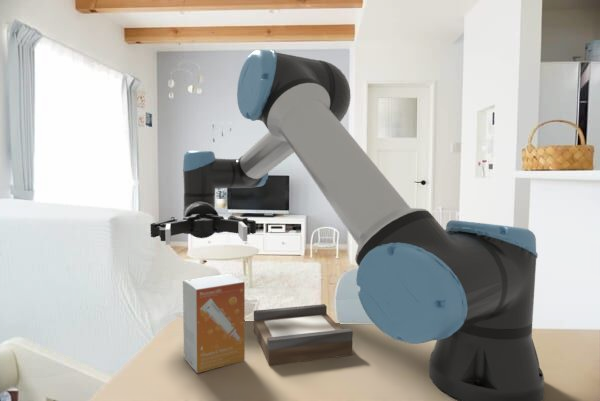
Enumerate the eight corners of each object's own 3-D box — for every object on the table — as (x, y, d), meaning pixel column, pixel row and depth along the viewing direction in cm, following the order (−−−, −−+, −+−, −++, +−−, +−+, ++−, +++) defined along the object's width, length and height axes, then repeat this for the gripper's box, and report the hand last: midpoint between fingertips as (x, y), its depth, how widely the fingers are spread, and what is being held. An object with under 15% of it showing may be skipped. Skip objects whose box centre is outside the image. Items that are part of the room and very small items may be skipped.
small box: (197, 375, 63) (195, 289, 62) (183, 358, 68) (181, 279, 67) (246, 361, 67) (245, 281, 66) (229, 346, 72) (228, 272, 71)
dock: (352, 354, 69) (352, 331, 69) (269, 365, 66) (268, 340, 65) (324, 323, 83) (324, 304, 83) (253, 331, 79) (253, 310, 79)
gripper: (255, 233, 100) (275, 252, 79) (143, 237, 93) (133, 259, 72) (255, 202, 99) (275, 212, 79) (142, 203, 92) (132, 216, 72)
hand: (207, 235), depth 75 cm, fingers open, 13 cm apart
